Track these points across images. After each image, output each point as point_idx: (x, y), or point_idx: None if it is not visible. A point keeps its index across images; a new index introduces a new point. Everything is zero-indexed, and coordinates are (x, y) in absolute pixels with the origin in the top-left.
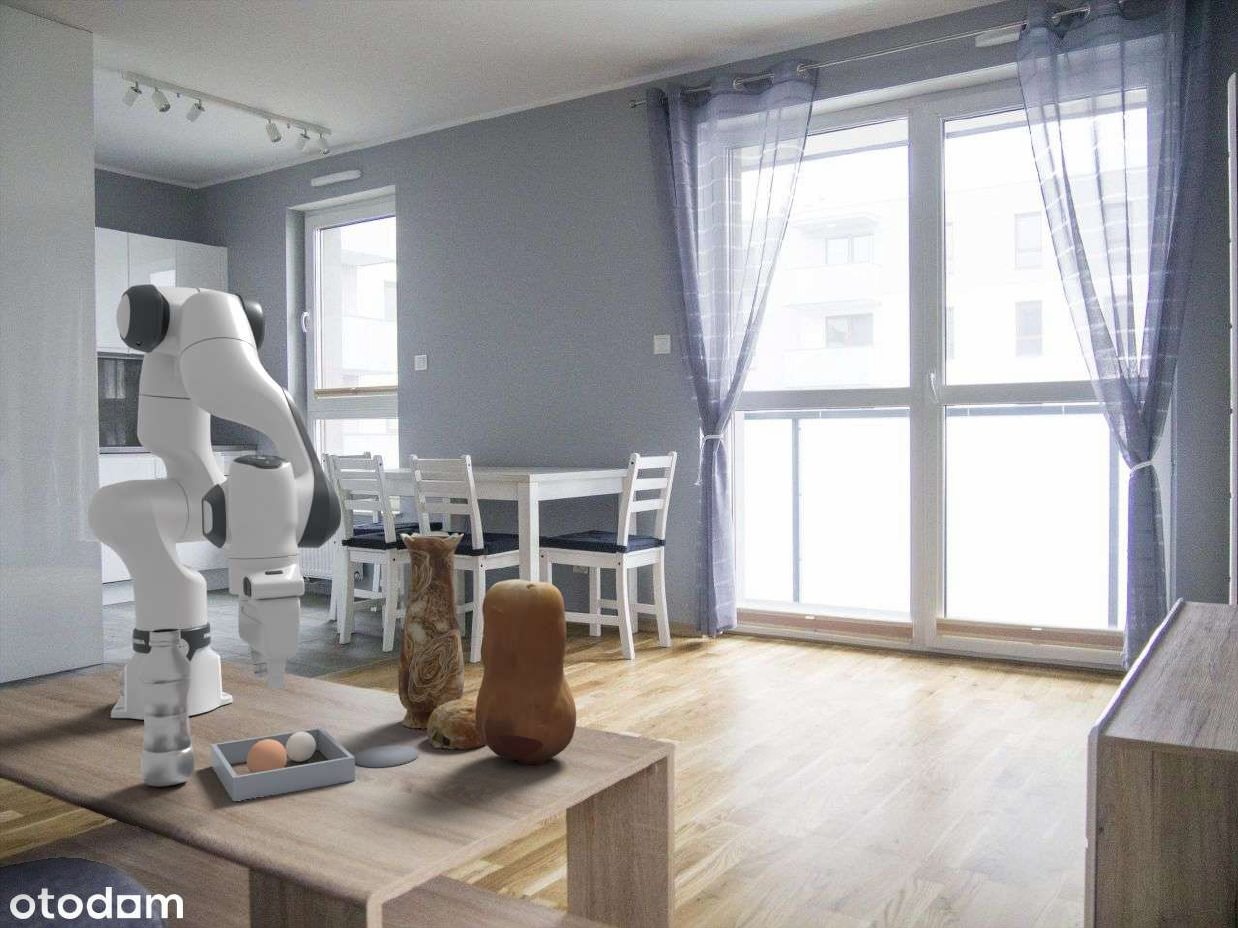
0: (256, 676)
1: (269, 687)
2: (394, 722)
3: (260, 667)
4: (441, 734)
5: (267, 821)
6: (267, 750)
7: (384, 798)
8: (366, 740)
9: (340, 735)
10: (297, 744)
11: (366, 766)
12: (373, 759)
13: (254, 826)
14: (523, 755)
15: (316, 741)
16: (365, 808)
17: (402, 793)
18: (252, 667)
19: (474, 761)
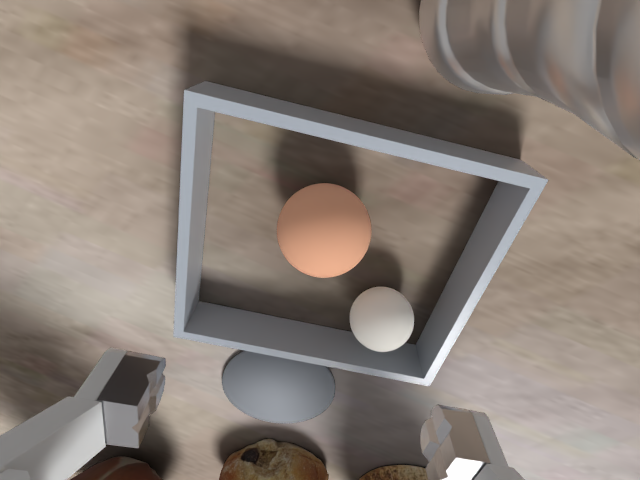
0: (437, 411)
1: (103, 354)
2: None
3: (444, 461)
4: (262, 465)
5: (32, 84)
6: (286, 233)
7: (65, 292)
8: (397, 408)
9: (465, 399)
10: (360, 312)
11: None
12: (270, 368)
13: (9, 46)
14: (87, 469)
15: (420, 355)
16: (25, 250)
17: (76, 320)
18: (490, 447)
19: (170, 436)
